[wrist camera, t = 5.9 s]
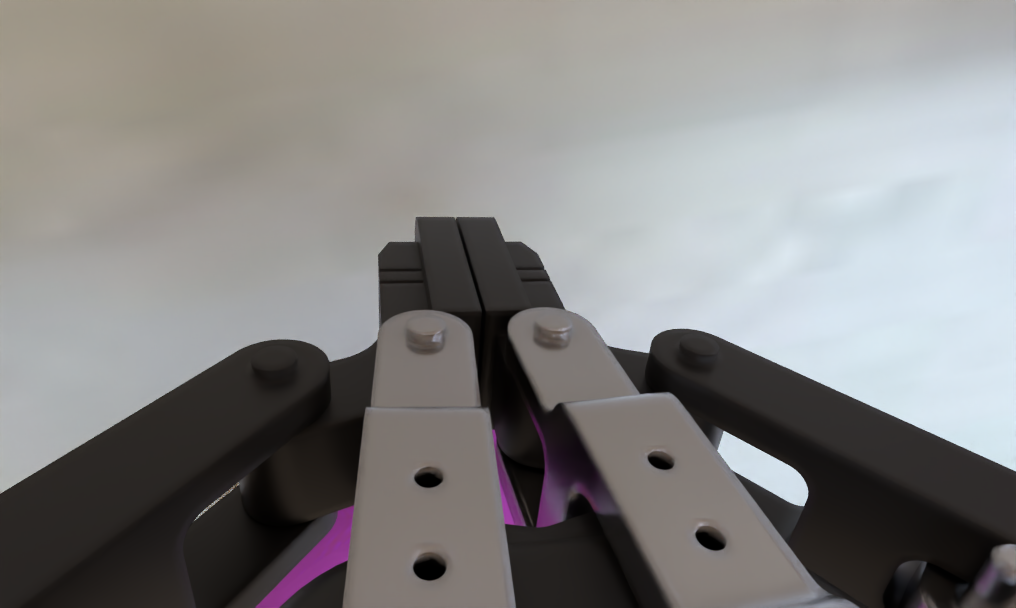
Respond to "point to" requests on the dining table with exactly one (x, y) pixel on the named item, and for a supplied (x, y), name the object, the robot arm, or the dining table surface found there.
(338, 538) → the donut
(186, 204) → the dining table surface
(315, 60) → the dining table surface
